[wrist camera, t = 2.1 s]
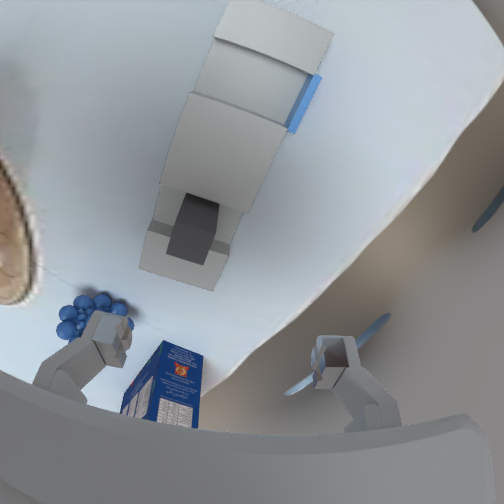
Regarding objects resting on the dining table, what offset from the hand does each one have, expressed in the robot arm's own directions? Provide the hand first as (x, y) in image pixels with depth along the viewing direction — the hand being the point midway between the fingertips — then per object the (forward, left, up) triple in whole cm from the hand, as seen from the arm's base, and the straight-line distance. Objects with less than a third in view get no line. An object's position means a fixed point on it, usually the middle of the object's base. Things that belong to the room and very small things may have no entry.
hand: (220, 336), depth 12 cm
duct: (-2, 0, -24) cm, 24 cm away
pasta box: (+1, -48, -24) cm, 54 cm away
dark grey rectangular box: (-2, -7, -23) cm, 24 cm away
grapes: (-12, -28, -24) cm, 39 cm away
